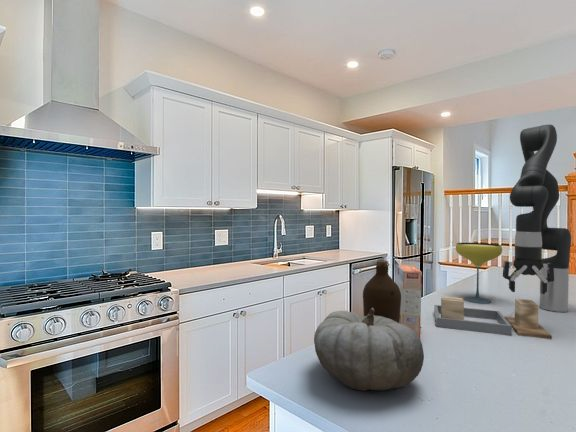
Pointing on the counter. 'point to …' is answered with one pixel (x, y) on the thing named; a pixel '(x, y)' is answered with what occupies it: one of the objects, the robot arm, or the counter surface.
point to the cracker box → (410, 296)
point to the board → (528, 330)
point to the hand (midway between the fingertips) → (527, 292)
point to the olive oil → (382, 294)
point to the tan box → (526, 313)
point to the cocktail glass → (478, 260)
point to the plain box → (452, 308)
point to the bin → (474, 325)
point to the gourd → (368, 350)
